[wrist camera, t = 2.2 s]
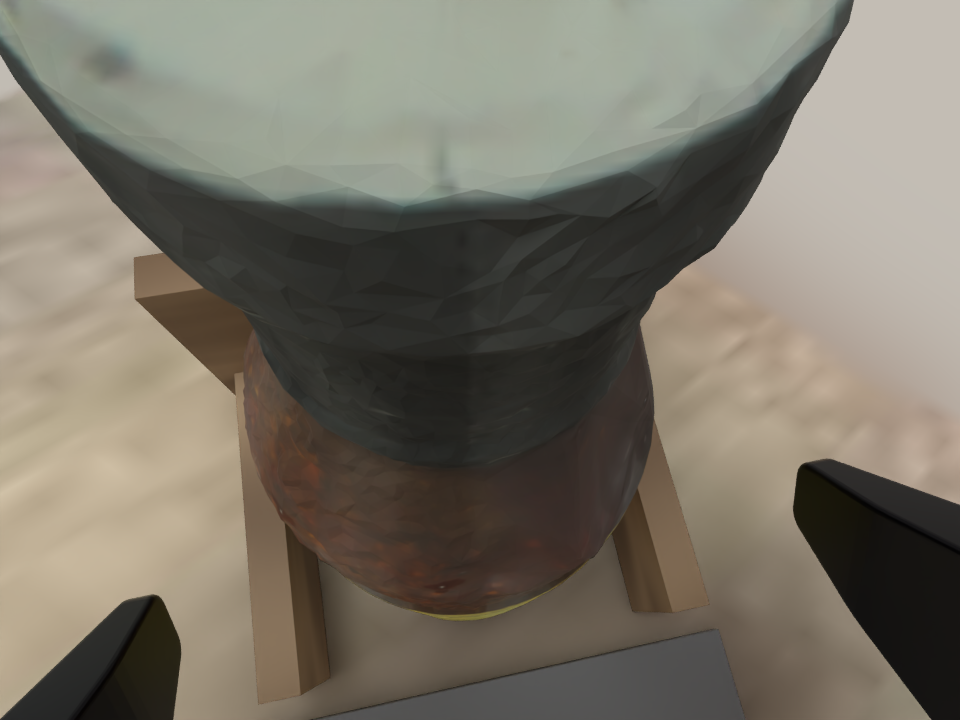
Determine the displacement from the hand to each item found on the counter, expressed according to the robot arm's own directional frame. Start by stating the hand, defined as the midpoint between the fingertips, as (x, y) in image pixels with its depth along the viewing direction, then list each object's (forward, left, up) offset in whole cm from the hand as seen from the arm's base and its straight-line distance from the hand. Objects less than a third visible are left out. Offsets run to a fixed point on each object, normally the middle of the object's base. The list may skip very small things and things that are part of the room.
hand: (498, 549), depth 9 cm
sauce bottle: (+2, -1, -12) cm, 13 cm away
